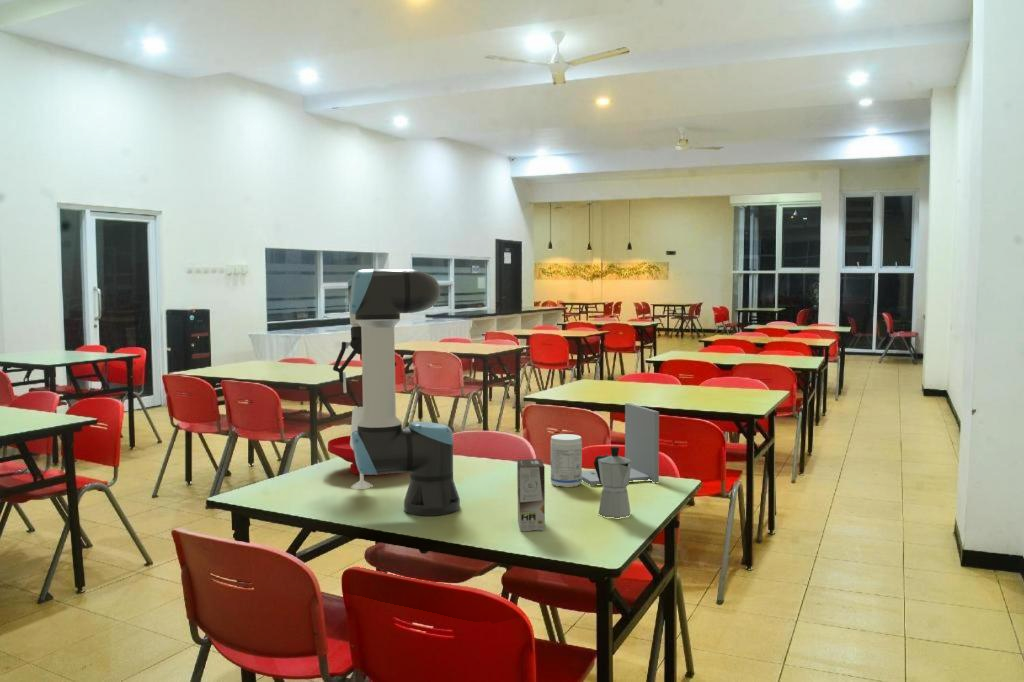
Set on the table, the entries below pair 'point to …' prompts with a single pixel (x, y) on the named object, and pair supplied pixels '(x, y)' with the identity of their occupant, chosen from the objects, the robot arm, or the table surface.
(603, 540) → the table surface
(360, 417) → the champagne flute
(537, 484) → the coffee box
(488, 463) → the table surface
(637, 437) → the socket stand
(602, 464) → the coffee maker
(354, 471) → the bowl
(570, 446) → the supplement tub
